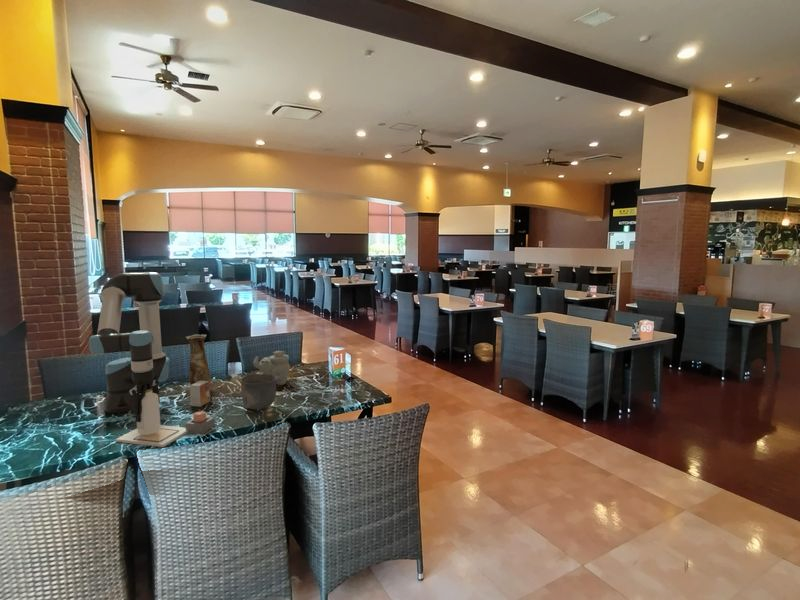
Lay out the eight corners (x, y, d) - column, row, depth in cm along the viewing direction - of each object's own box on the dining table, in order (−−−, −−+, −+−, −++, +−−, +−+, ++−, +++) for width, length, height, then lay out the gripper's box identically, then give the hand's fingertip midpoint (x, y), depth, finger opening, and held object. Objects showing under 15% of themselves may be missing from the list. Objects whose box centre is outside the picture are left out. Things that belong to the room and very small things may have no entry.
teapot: (252, 384, 252) (251, 351, 249) (272, 377, 265) (271, 346, 262) (275, 388, 244) (274, 355, 242) (293, 381, 257) (293, 349, 255)
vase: (203, 394, 235) (200, 338, 231) (185, 393, 237) (181, 337, 233) (214, 388, 245) (212, 334, 241) (197, 387, 247) (193, 333, 243)
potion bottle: (164, 427, 187) (161, 385, 184) (154, 436, 179) (151, 392, 176) (144, 427, 187) (140, 385, 184) (133, 436, 178) (129, 392, 176)
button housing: (185, 432, 188) (185, 423, 187) (198, 424, 196) (197, 415, 195) (202, 434, 186) (202, 424, 186) (214, 426, 194) (214, 417, 193)
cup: (286, 403, 221) (285, 374, 219) (266, 417, 205) (265, 385, 203) (254, 400, 226) (253, 371, 224) (233, 413, 209) (231, 381, 207)
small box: (200, 407, 217) (199, 385, 216) (190, 406, 218) (189, 385, 217) (210, 401, 225) (209, 380, 224) (200, 400, 226) (199, 380, 225)
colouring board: (116, 441, 179) (115, 438, 179) (146, 425, 195) (146, 423, 194) (163, 447, 174) (163, 444, 174) (191, 430, 190) (190, 427, 190)
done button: (190, 424, 189) (190, 415, 188) (198, 419, 194) (198, 410, 193) (201, 425, 188) (200, 416, 187) (209, 420, 192) (208, 411, 192)
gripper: (132, 377, 168) (136, 436, 171) (167, 364, 186) (171, 417, 189) (115, 376, 170) (120, 434, 173) (152, 363, 188) (155, 416, 191)
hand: (146, 425), depth 181 cm, fingers open, 5 cm apart
